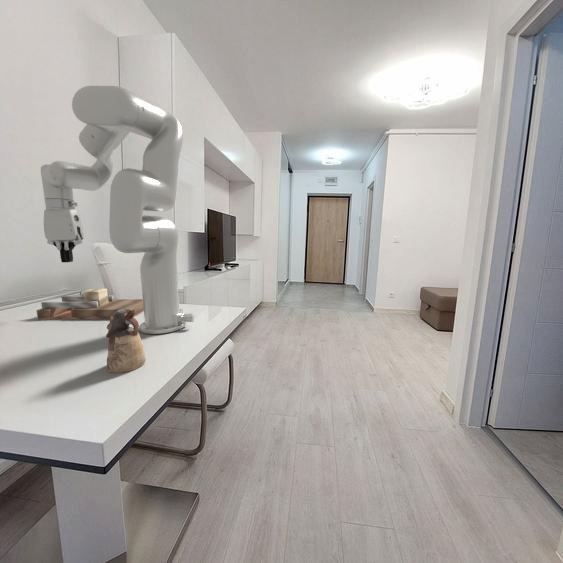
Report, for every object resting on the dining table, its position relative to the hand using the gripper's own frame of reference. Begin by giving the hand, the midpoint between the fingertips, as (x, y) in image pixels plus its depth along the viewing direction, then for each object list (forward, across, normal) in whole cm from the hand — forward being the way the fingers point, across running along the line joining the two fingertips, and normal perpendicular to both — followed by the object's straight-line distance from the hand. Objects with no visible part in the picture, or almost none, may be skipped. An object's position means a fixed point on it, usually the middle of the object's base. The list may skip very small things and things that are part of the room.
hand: (67, 261), depth 96 cm
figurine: (+17, -40, +40) cm, 59 cm away
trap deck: (+18, -8, 0) cm, 20 cm away
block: (+15, -8, 0) cm, 17 cm away
